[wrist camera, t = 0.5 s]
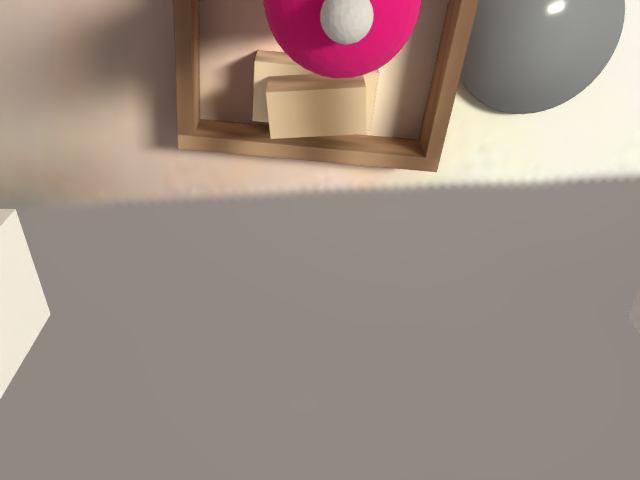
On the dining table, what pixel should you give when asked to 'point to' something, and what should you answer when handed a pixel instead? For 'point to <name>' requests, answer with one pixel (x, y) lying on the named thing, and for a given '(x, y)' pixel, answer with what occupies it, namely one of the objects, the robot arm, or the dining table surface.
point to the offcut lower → (284, 65)
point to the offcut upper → (315, 106)
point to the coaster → (538, 50)
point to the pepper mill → (342, 33)
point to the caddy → (322, 148)
